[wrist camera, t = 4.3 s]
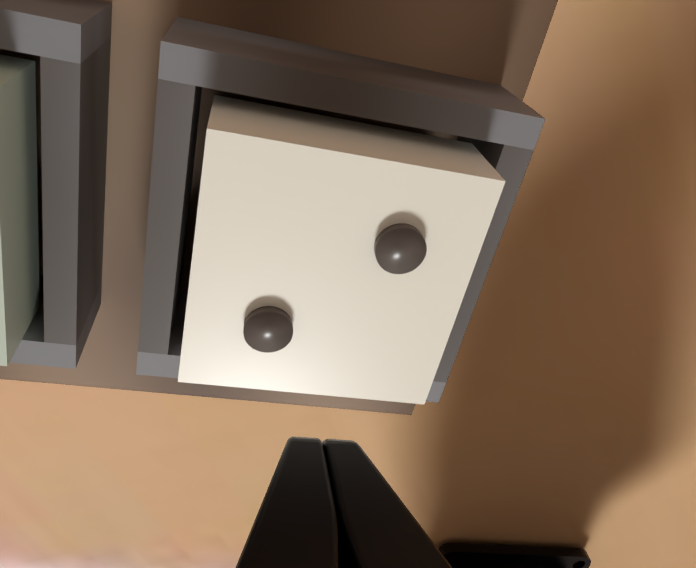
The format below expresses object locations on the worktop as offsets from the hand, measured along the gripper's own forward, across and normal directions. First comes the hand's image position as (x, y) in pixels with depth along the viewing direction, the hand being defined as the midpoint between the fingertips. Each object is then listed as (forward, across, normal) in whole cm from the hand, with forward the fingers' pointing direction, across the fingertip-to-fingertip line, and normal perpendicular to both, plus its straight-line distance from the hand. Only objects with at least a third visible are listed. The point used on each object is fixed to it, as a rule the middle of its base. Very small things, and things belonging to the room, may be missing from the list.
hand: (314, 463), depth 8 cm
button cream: (+6, -1, 0) cm, 6 cm away
